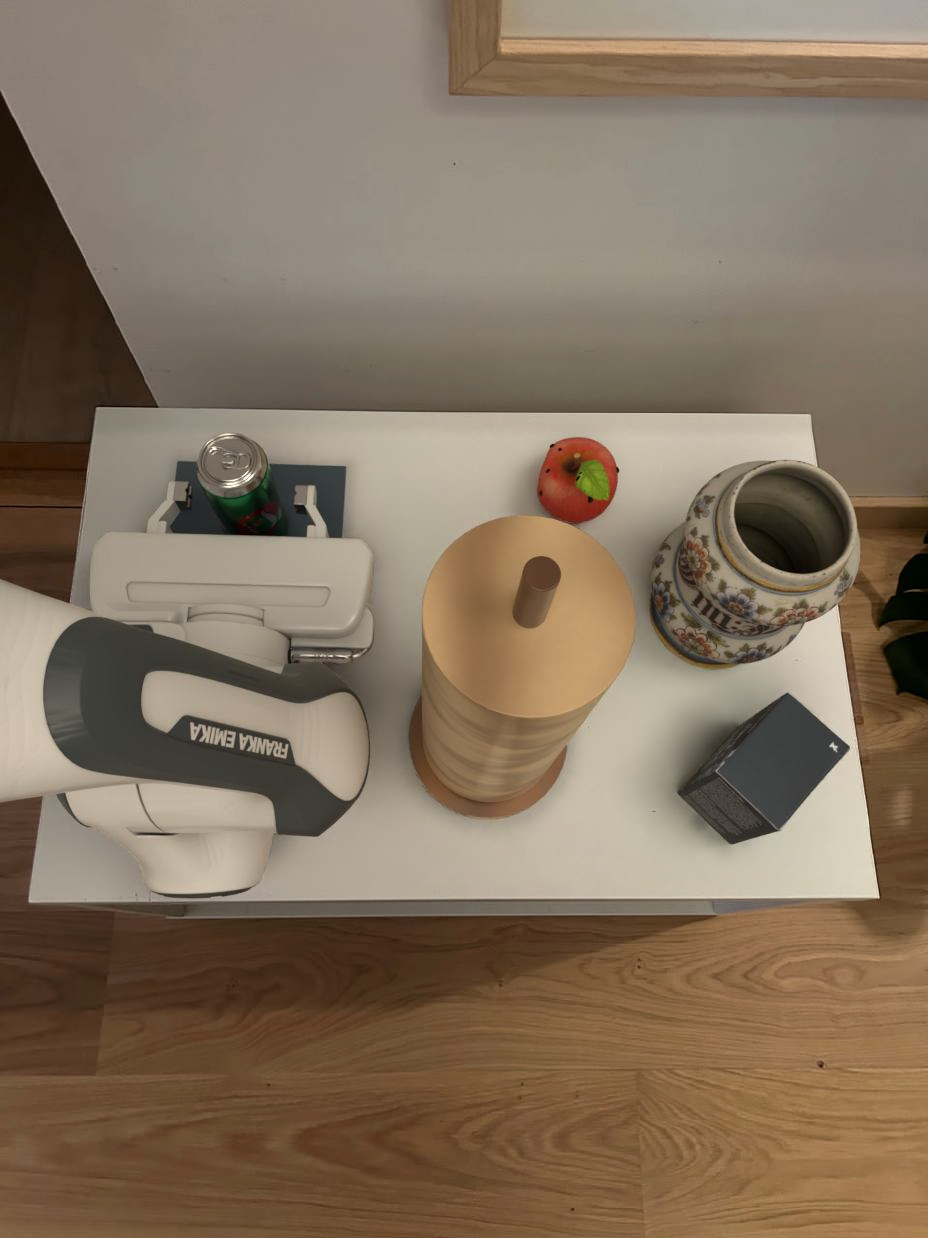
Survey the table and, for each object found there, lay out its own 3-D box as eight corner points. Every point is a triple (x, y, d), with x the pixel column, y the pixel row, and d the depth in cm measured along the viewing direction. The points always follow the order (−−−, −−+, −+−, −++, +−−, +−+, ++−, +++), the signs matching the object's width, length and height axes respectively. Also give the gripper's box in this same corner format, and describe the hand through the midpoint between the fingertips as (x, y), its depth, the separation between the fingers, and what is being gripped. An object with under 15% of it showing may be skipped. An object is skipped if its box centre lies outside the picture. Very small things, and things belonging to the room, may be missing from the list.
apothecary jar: (802, 667, 75) (914, 587, 58) (658, 695, 74) (729, 623, 57) (756, 530, 79) (849, 418, 62) (618, 556, 77) (674, 448, 60)
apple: (511, 494, 79) (523, 434, 69) (573, 451, 80) (593, 387, 71) (569, 562, 77) (589, 510, 68) (632, 517, 79) (660, 460, 69)
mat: (161, 596, 75) (161, 595, 75) (178, 461, 79) (177, 460, 78) (338, 601, 75) (338, 600, 75) (346, 467, 79) (345, 465, 79)
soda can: (230, 500, 77) (196, 425, 66) (291, 503, 78) (269, 429, 66) (222, 557, 76) (187, 490, 64) (285, 560, 76) (261, 494, 65)
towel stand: (406, 818, 70) (392, 711, 37) (411, 663, 74) (402, 440, 41) (566, 820, 70) (695, 718, 37) (563, 666, 74) (676, 449, 41)
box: (739, 722, 73) (789, 689, 63) (795, 774, 72) (855, 748, 62) (673, 793, 71) (714, 770, 61) (730, 848, 70) (781, 833, 60)
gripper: (370, 652, 64) (379, 471, 69) (68, 645, 64) (96, 462, 68) (375, 676, 70) (382, 508, 75) (98, 669, 70) (122, 500, 74)
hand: (244, 486), depth 71 cm, fingers open, 8 cm apart
